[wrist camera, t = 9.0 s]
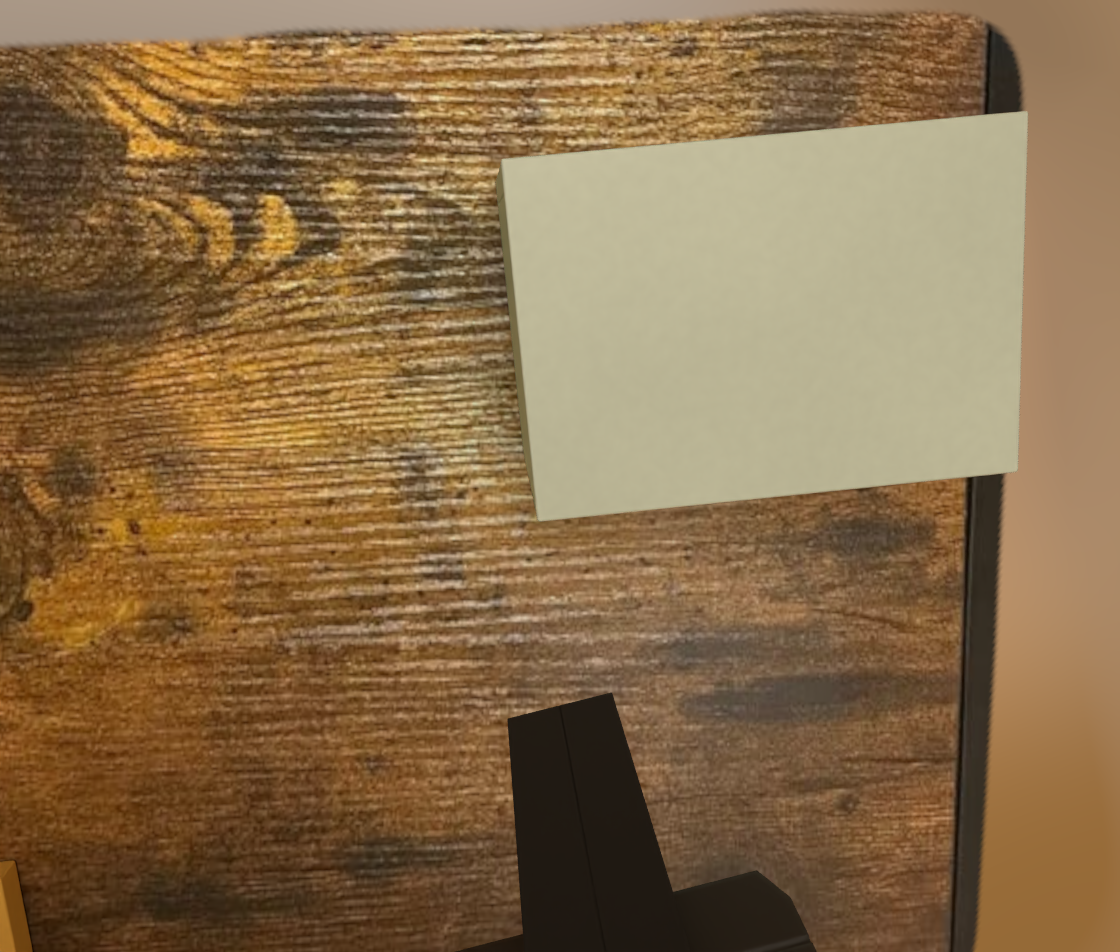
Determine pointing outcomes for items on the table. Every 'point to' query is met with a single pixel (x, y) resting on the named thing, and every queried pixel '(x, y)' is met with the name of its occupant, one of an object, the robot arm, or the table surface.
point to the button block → (12, 912)
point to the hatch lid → (770, 313)
